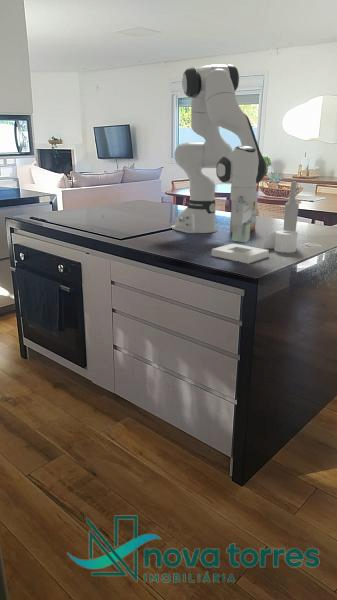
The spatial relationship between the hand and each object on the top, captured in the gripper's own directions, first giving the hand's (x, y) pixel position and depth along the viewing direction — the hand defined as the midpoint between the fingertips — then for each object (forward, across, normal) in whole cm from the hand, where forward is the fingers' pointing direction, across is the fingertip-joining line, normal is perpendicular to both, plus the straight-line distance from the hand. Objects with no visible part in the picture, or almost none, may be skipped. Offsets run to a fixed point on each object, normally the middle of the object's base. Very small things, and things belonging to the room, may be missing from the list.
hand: (240, 234), depth 160 cm
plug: (+2, 0, 0) cm, 2 cm away
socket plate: (+8, 0, 0) cm, 8 cm away
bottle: (+8, +24, -15) cm, 30 cm away
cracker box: (+8, +47, +7) cm, 48 cm away
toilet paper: (+8, +16, -13) cm, 22 cm away
